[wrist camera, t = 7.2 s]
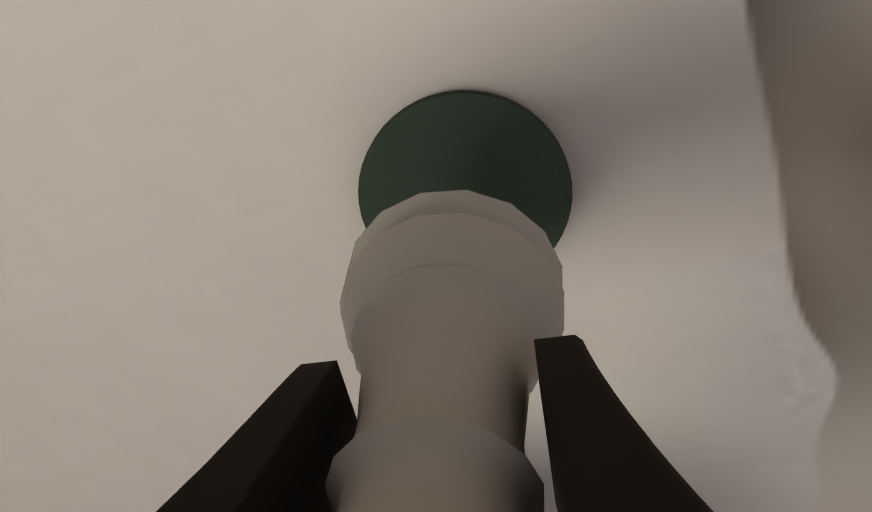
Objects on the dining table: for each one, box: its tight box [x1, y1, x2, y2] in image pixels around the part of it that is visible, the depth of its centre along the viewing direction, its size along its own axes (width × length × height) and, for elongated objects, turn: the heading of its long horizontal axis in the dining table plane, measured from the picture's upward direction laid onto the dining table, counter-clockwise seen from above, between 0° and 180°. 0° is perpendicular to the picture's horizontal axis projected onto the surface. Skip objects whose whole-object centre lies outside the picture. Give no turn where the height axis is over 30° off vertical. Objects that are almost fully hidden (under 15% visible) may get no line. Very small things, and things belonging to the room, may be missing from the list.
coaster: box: [358, 90, 572, 249], centre depth 16 cm, size 6×6×1 cm
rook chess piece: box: [325, 190, 564, 512], centre depth 9 cm, size 4×4×8 cm
